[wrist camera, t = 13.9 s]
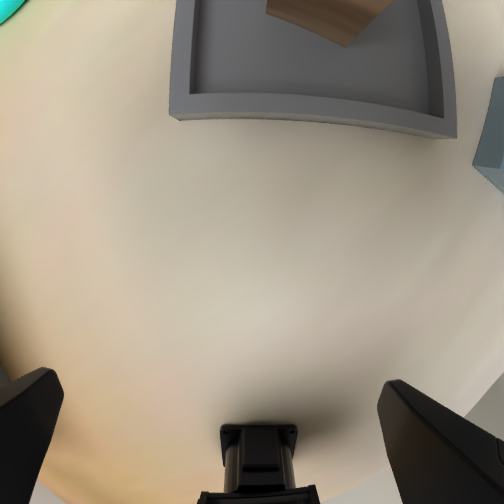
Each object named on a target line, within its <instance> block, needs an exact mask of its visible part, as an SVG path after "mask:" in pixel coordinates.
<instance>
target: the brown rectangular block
mask: <svg viewBox="0 0 504 504" xmlns="http://www.w3.org/2000/svg"><path fill="white" fill-rule="evenodd" d="M392 1H393V0H267V5H266V12H265V14H268V15H271V16H274V17H276V18H279V19H282V20H284V21H287V22H289V23H292V24H294V25H297V26H299V27H302V28H304V29H306V30H309V31H311V32H313V33H315V34H318V35H320V36H322V37H324V38H326V39H328V40H330V41H332V42H334V43H336V44H338V45H340V46H342V47H344V48H346V47H347V46H348V45H349V44H350V43H351V42H352V41H353V40H354V39H355V38H356V37H357V36H358V35H359V34H360V33H361V32H362V31H363V30H364V29H365V28H366V27H367V26H368V25H369V24H370V23H371V22H372V21H373V20H374V19H375V18H376V17H377V16H378V15H379V14H380V13H381V12H382V11H383V10H384V9H385V8H386V7H387V6H388V5H389V4H390V3H391V2H392Z"/></svg>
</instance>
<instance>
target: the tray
mask: <svg viewBox="0 0 504 504" xmlns="http://www.w3.org/2000/svg"><path fill="white" fill-rule="evenodd" d="M266 5H267V0H177V2H176V11H175V20H174V31H173V43H172V56H171V72H170V93H169V115H170V116H172V117H174V118H176V119H177V120H179V121H181V120H202V119H273V120H294V121H310V122H322V123H333V124H343V125H352V126H360V127H368V128H375V129H382V130H388V131H395V132H400V133H406V134H412V135H417V136H422V137H427V138H432V139H454V138H457V115H456V94H455V81H454V71H453V62H452V54H451V47H450V41H449V35H448V29H447V24H446V18H445V14H444V9H443V5H442V0H393V1H392V2H391V3H390V4H389V5H388V6H387V7H386V8H385V9H384V10H383V11H382V12H381V13H380V14H379V15H378V16H377V17H376V18H375V19H374V20H373V21H372V22H371V23H370V24H369V25H368V26H367V27H366V28H365V29H364V30H363V31H362V32H361V33H360V34H359V35H358V36H357V37H356V38H355V39H354V40H353V41H352V42H351V43H350V44H349V45H348V46H347V47H346V48H344V47H342V46H340V45H338V44H336V43H334V42H332V41H330V40H328V39H326V38H324V37H322V36H320V35H318V34H315V33H313V32H311V31H309V30H306V29H304V28H302V27H299V26H297V25H294V24H292V23H289V22H287V21H284V20H282V19H279V18H276V17H274V16H271V15H268V14H265V12H266Z"/></svg>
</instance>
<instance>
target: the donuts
mask: <svg viewBox="0 0 504 504" xmlns="http://www.w3.org/2000/svg"><path fill="white" fill-rule="evenodd" d="M24 1H25V0H0V24H1V23H2V22H3V21H5V20H6V19H7V18H8V17H10V16H11V15H12V14H13V13H14V12H15V11H16V10H17V9H18V8H19V7H20V6H21V5H22V4H23V3H24Z"/></svg>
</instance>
